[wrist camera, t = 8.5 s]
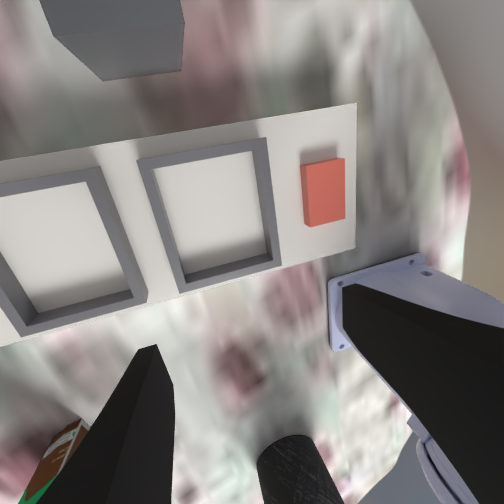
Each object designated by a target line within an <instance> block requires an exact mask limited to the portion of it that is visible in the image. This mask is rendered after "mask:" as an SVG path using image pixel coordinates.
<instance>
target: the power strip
mask: <svg viewBox="0 0 504 504" xmlns="http://www.w3.org/2000/svg"><path fill="white" fill-rule="evenodd" d="M356 134H357V103H353V104H346V105H340V106H334V107H328V108H322V109H316V110H310V111H303V112H297V113H291V114H285V115H279V116H273V117H266V118H260V119H254V120H248V121H242V122H236V123H230V124H223V125H217V126H211V127H205V128H199V129H193V130H186V131H180V132H174V133H168V134H162V135H156V136H149V137H143V138H137V139H131V140H125V141H119V142H113V143H106V144H100V145H94V146H88V147H82V148H76V149H69V150H63V151H57V152H51V153H45V154H39V155H32V156H26V157H20V158H14V159H8V160H2V161H0V347H2V346H5V345H9V344H13V343H16V342H20V341H23V340H27V339H31V338H34V337H38V336H41V335H45V334H49V333H52V332H56V331H59V330H63V329H67V328H70V327H74V326H77V325H81V324H85V323H88V322H92V321H95V320H99V319H103V318H106V317H110V316H113V315H117V314H121V313H124V312H128V311H131V310H135V309H139V308H142V307H146V306H149V305H153V304H157V303H160V302H164V301H167V300H171V299H175V298H178V297H182V296H185V295H189V294H193V293H196V292H200V291H203V290H207V289H211V288H214V287H218V286H221V285H225V284H229V283H232V282H236V281H239V280H243V279H247V278H250V277H254V276H257V275H261V274H265V273H268V272H272V271H275V270H279V269H283V268H286V267H290V266H293V265H297V264H301V263H304V262H308V261H311V260H315V259H319V258H322V257H326V256H329V255H333V254H337V253H340V252H344V251H347V250H351V249H355V233H356Z"/></svg>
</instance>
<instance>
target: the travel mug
mask: <svg viewBox="0 0 504 504" xmlns="http://www.w3.org/2000/svg"><path fill="white" fill-rule="evenodd" d="M257 472H258V477H259V482H260V486H261V491H262V496H263V500H264V504H344V502H343V500H342V498H341V496H340V494H339V492H338V490H337V488H336V486H335V484H334V482H333V480H332V478H331V476H330V474H329V472H328V470H327V468H326V466H325V464H324V462H323V460H322V458H321V456H320V454H319V452H318V450H317V448H316V446H315V444H314V443H313V441H312V440H311V439H310V438H309V437H307V436H303V435H293V436H289V437H285V438H283V439H280V440H278V441H277V442H275V443H273V444H272V445H270V446H269V447H268V448H267V449H266V450H265V451H264V452H263V453H262V454H261V456H260V457H259V459H258V462H257Z"/></svg>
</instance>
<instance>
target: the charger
mask: <svg viewBox="0 0 504 504" xmlns="http://www.w3.org/2000/svg"><path fill="white" fill-rule="evenodd" d="M39 1H40V3H41V6H42V8H43V11H44V13H45V16H46V19H47V21H48V24H49V26H50V29H51V31H52V34H53V36H54V37H55V38H56V39H57V40H58V41H59V42H60V43H62V44H63V45H64V46H65V47H66V48H67V49H68V50H69V51H70V52H71V53H73V54H74V55H75V56H76V57H77V58H78V59H79V60H80V61H81V62H82V63H84V64H85V65H86V66H87V67H88V68H89V69H90V70H91V71H92V72H93V73H95V74H96V75H97V76H98V77H99V78H100V79H101V80H102V81H108V80H115V79H123V78H131V77H138V76H146V75H153V74H161V73H168V72H176V71H181V67H182V53H183V39H184V25H185V22H184V18H183V13H182V8H181V4H180V0H39Z"/></svg>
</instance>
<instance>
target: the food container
mask: <svg viewBox="0 0 504 504" xmlns="http://www.w3.org/2000/svg"><path fill="white" fill-rule="evenodd" d="M90 428H91V427H90V426H89V425H88V424H87V423H86V422H85V421H84V420H83V419H80V420H78V421H76V422H74V423H72V424H70V425H68V426H67V427H66V428H65V429H63V430H62V431H61V432H60V433H59V434H58V435H56V436H55V437H54V438H53V440H52V442H51V443H50V445H49V447H48V448H47V450H46V452H45V454H44V456H43V458H42V459H41V461H40V463H39V465H38V467H37V469H36V471H35V473H34V475H33V477H32V478H31V480H30V482H29V484H28V486H27V488H26V490H25V492H24V494H23V496H22V497H21V499H20V501H19V503H18V504H36V502H37V501H38V500H39V499H40V497H41V496H42V495H43V494H44V492H45V491H46V490H47V488H48V487H49V486H50V484H51V483H52V482H53V480H54V479H55V478H56V476H57V475H58V474H59V472H60V471H61V470H62V468H63V467H64V466H65V464H66V463H67V461H68V460H69V459H70V457H71V456H72V454H73V453H74V452H75V450H76V449H77V447H78V446H79V444H80V443H81V441H82V440H83V438H84V437H85V435H86V434H87V432H88V431H89V429H90Z"/></svg>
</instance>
